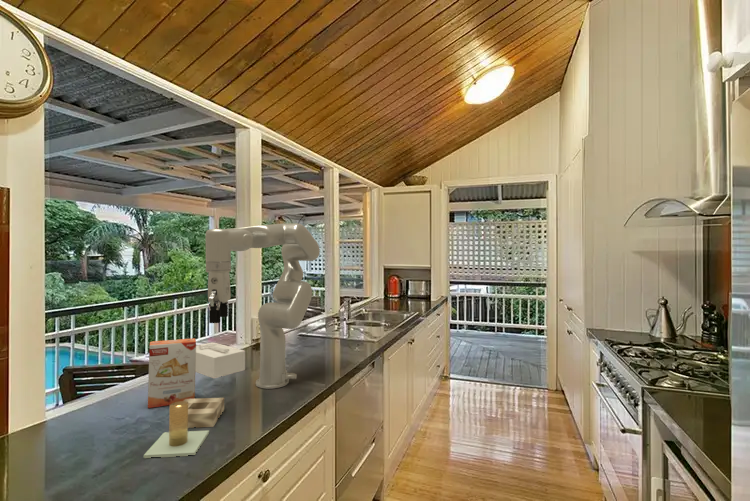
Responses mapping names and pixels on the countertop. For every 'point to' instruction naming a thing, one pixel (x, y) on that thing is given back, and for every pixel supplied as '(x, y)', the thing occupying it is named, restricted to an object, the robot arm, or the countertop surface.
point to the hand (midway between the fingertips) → (219, 319)
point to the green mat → (189, 448)
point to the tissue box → (218, 360)
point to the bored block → (204, 411)
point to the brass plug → (178, 423)
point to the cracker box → (171, 371)
